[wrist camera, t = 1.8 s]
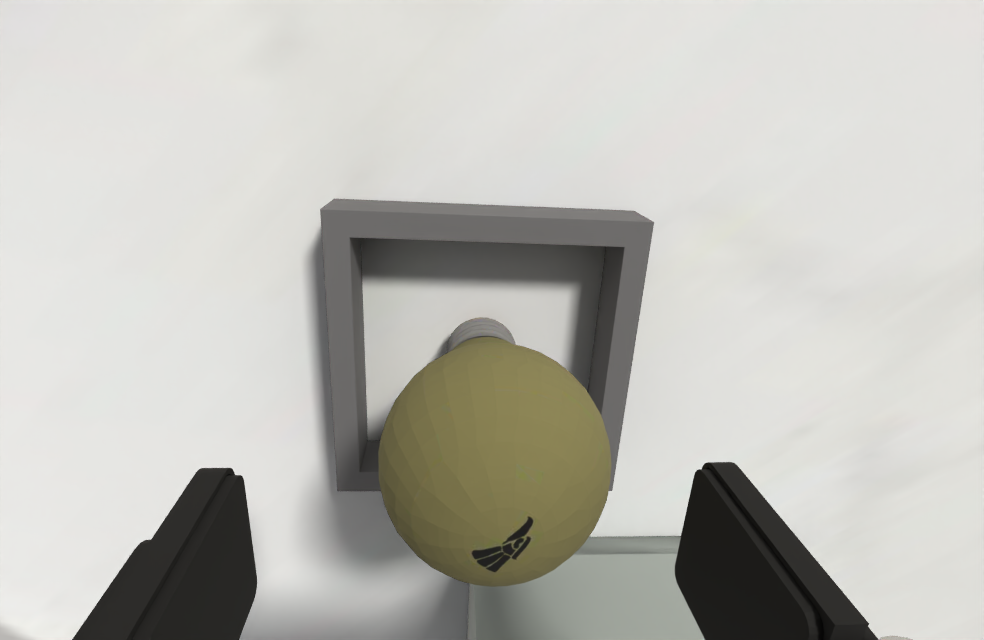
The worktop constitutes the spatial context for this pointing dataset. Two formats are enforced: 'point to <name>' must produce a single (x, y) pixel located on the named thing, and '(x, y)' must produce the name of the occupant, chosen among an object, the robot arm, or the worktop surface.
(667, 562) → the bin
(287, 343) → the worktop surface
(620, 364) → the bulb holder
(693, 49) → the worktop surface
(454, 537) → the light bulb
